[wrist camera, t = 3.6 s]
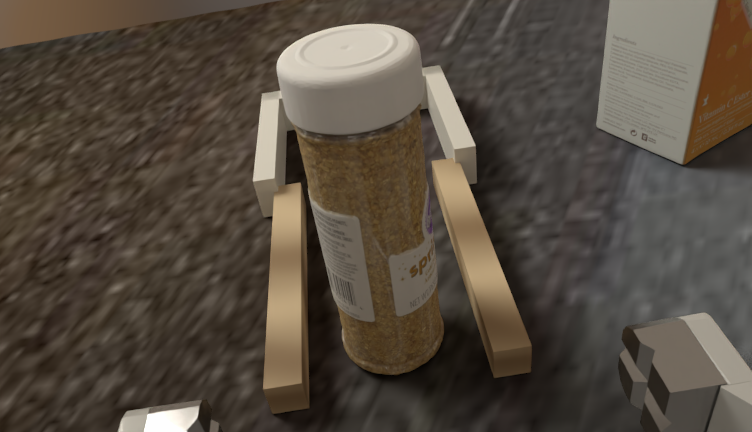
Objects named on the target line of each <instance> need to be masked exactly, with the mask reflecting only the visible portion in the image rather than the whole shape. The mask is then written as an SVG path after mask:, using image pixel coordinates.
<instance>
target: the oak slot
mask: <svg viewBox="0 0 752 432" xmlns="http://www.w3.org/2000/svg"><path fill="white" fill-rule="evenodd" d="M432 171H433V183H434V187H435V191H436V194H437V197H438V200H439V203H440V207H441V210H442V213H443V216H444V219H445V223H446V226H447V229H448V232H449V236H450V239H451V242H452V245H453V248H454V252H455V255H456V258H457V261H458V264H459V268H460V271H461V274H462V277H463V280H464V284H465V287H466V290H467V293H468V296H469V300H470V303H471V306H472V309H473V313H474V316H475V319H476V322H477V325H478V329H479V332H480V335H481V338H482V341H483V345H484V348H485V351H486V354H487V357H488V361H489V364H490V367H491V370H492V373H493V377H494V378H498V377H505V376H511V375H517V374H523V373H529V372H531V356H532V345H531V342H530V340H529V337H528V335H527V332H526V330H525V327H524V324H523V322H522V319H521V317H520V314H519V312H518V309H517V307H516V304H515V301H514V299H513V296H512V294H511V291H510V289H509V286H508V284H507V281H506V279H505V276H504V273H503V271H502V268H501V266H500V263H499V261H498V258H497V256H496V253H495V251H494V248H493V245H492V243H491V240H490V238H489V235H488V233H487V230H486V228H485V225H484V223H483V220H482V217H481V215H480V212H479V210H478V207H477V205H476V202H475V200H474V197H473V194H472V192H471V189H470V187H469V184H468V182H467V179H466V177H465V174H464V172H463V169H462V166H461V164H460V162H459V163H455V162H454V159H453V158H449V159H443V160H437V161H432ZM263 390H264V393H265V396H266V398H267V401H268V404H269V406H270V409H271V412H272V414H276V413H283V412H289V411H295V410H301V409H307V408H309V351H308V290H307V230H306V203H305V198H304V194H303V190H302V186H301V182H300V183H294V184H288V185H281V186H278V192H274V203H273V221H272V239H271V257H270V275H269V293H268V311H267V329H266V347H265V365H264V383H263Z"/></svg>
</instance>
